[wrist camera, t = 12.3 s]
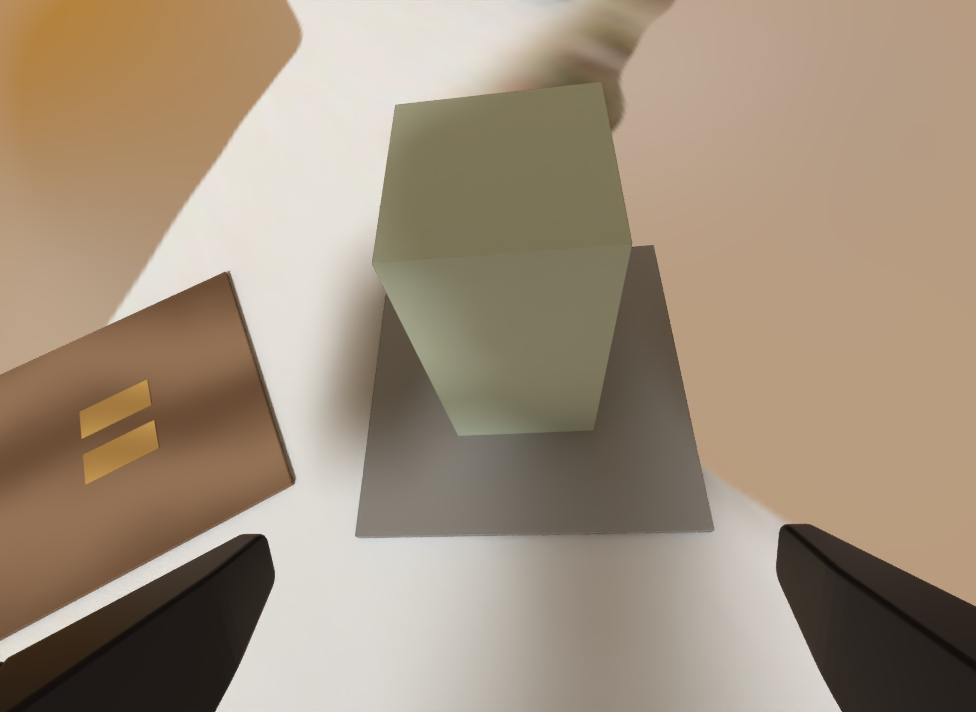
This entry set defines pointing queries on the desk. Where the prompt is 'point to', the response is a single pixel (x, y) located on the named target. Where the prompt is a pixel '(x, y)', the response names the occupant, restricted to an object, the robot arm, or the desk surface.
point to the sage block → (507, 253)
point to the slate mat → (540, 445)
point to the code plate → (129, 449)
